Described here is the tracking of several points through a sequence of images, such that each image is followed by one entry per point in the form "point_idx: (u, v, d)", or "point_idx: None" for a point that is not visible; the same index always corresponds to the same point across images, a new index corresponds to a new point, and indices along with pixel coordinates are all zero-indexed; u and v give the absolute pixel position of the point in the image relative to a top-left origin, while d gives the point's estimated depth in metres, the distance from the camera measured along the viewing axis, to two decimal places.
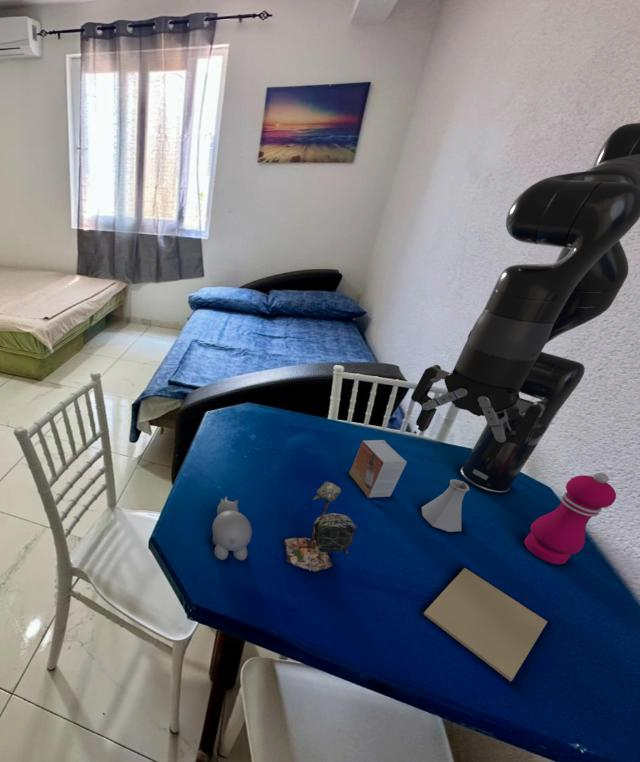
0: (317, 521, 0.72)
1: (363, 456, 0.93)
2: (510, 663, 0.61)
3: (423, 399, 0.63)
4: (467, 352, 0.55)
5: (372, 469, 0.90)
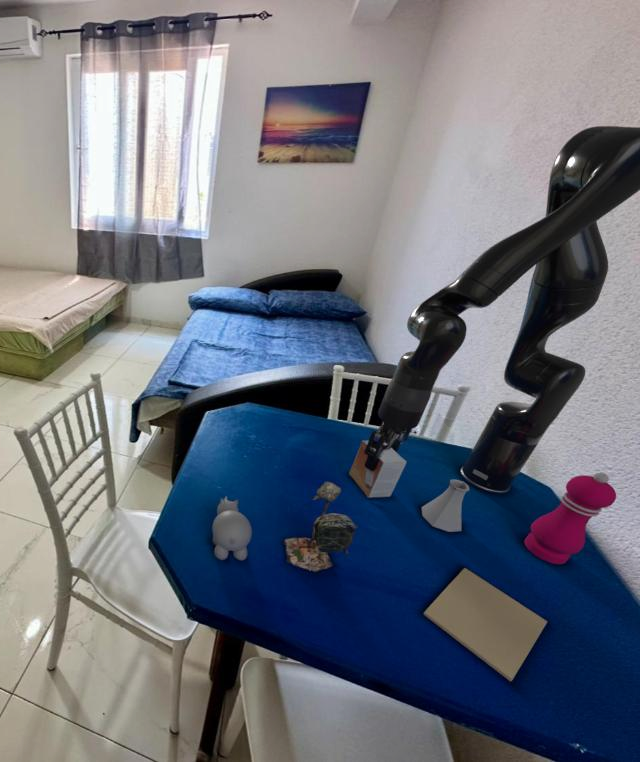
0: (317, 521, 0.72)
1: (363, 456, 0.93)
2: (510, 663, 0.61)
3: None
4: None
5: None
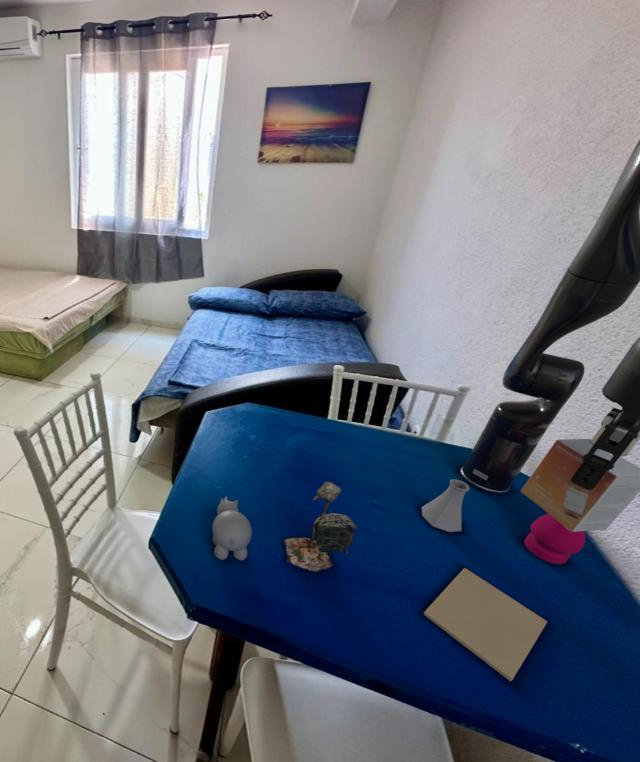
0: (317, 521, 0.72)
1: (559, 465, 0.58)
2: (510, 663, 0.61)
3: None
4: None
5: None
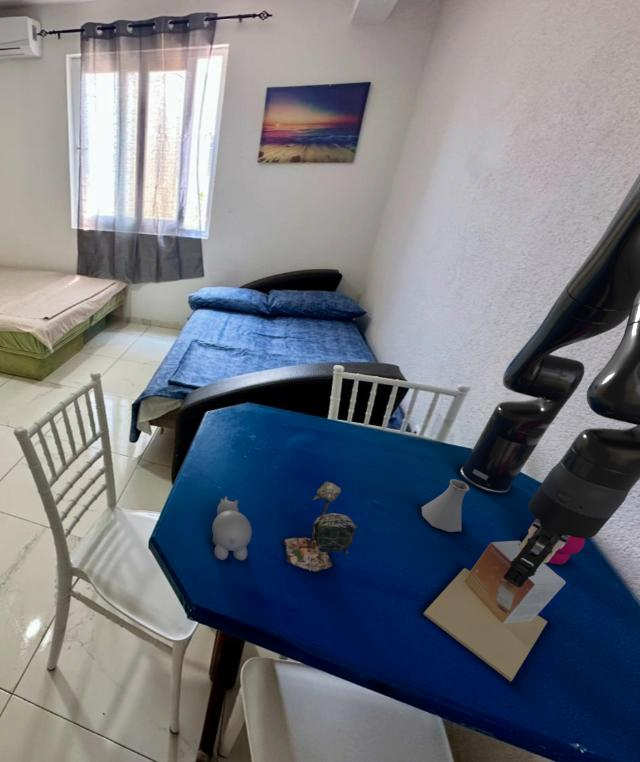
0: (317, 521, 0.72)
1: (493, 564, 0.68)
2: (510, 663, 0.61)
3: None
4: None
5: (512, 588, 0.65)
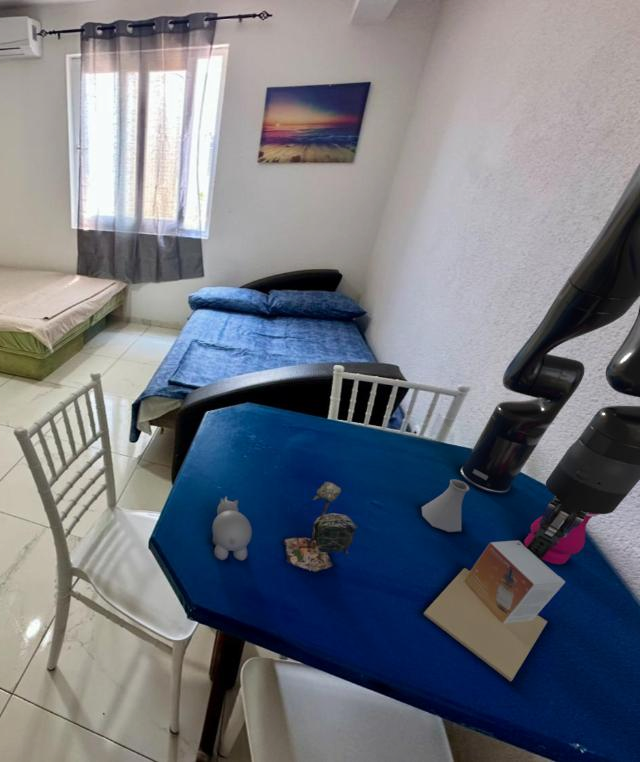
0: (317, 521, 0.72)
1: (492, 564, 0.68)
2: (510, 663, 0.61)
3: None
4: None
5: (511, 588, 0.65)
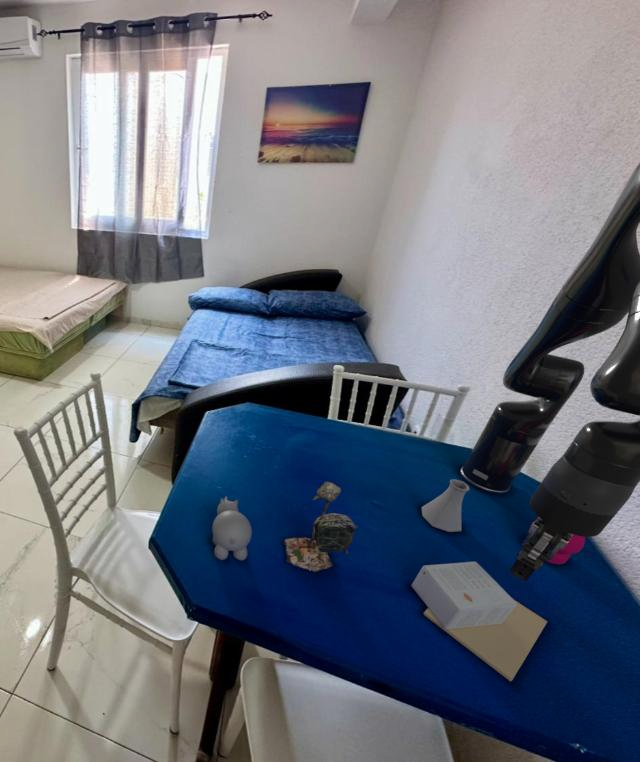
0: (317, 521, 0.72)
1: None
2: (510, 663, 0.61)
3: None
4: None
5: None
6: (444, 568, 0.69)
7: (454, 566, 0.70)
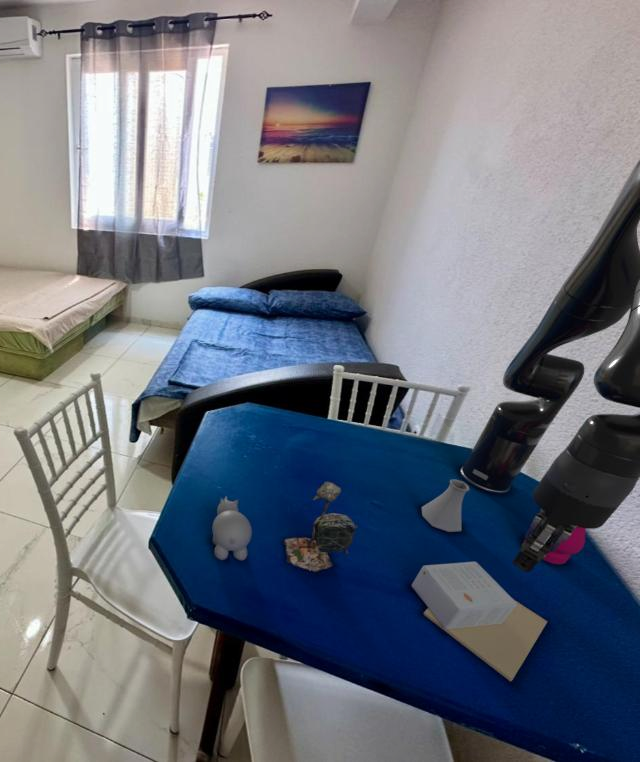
0: (317, 521, 0.72)
1: None
2: (510, 663, 0.61)
3: None
4: None
5: None
6: (444, 568, 0.69)
7: (454, 566, 0.70)
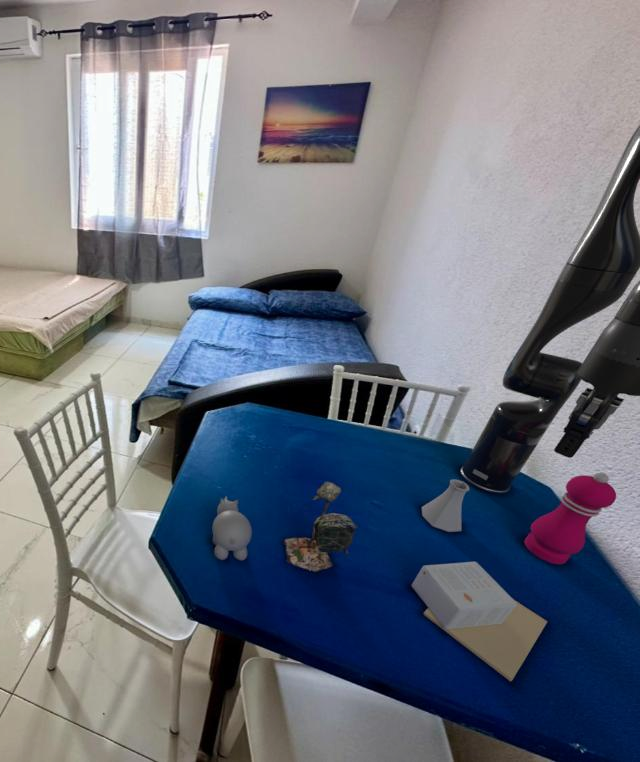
0: (317, 521, 0.72)
1: None
2: (510, 663, 0.61)
3: None
4: None
5: None
6: (444, 568, 0.69)
7: (454, 566, 0.70)
